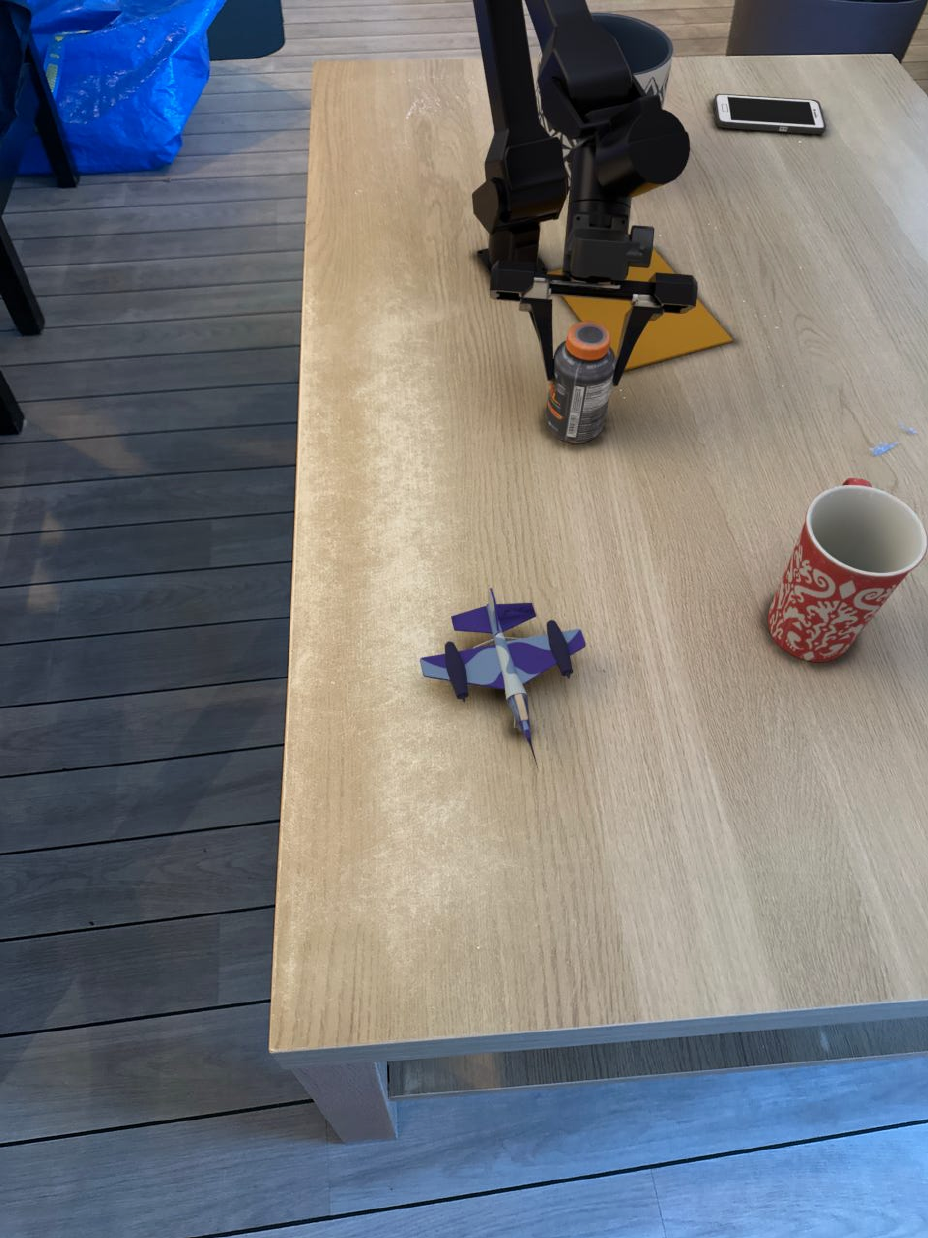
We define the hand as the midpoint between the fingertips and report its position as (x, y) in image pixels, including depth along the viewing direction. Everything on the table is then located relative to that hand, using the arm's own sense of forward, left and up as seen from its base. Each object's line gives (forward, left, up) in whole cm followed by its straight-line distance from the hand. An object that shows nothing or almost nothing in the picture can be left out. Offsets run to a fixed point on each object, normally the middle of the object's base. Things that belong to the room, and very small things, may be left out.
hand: (582, 383), depth 90 cm
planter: (-45, +25, -7) cm, 51 cm away
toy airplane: (+24, -18, -7) cm, 31 cm away
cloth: (-16, +16, -7) cm, 23 cm away
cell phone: (-46, +53, -7) cm, 70 cm away
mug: (+27, +10, -7) cm, 30 cm away
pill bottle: (-1, +1, -7) cm, 7 cm away
